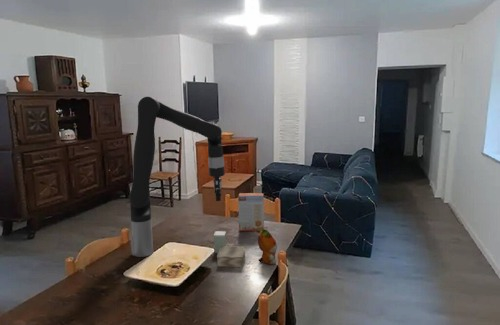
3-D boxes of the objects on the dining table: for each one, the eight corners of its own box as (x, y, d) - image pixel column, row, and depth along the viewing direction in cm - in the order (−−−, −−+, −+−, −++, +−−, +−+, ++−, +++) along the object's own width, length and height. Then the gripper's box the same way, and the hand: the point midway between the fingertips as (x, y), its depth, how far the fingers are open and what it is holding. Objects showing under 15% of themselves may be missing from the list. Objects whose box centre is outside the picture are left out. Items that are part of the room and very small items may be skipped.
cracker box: (264, 228, 209) (264, 192, 206) (263, 231, 203) (263, 195, 200) (240, 227, 211) (239, 192, 207) (238, 231, 205) (238, 195, 201)
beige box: (217, 266, 162) (216, 256, 161) (221, 255, 173) (221, 246, 173) (242, 267, 161) (242, 257, 160) (245, 256, 172) (245, 246, 171)
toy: (275, 266, 161) (275, 234, 158) (255, 265, 163) (255, 233, 160) (278, 256, 172) (278, 225, 169) (260, 254, 173) (259, 224, 171)
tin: (214, 252, 176) (213, 235, 175) (216, 248, 181) (215, 231, 180) (224, 253, 176) (224, 235, 174) (226, 248, 181) (226, 231, 179)
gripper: (209, 163, 182) (212, 195, 185) (207, 169, 168) (210, 203, 171) (224, 162, 182) (226, 194, 185) (223, 168, 168) (226, 202, 171)
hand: (218, 198), depth 178 cm, fingers open, 8 cm apart
